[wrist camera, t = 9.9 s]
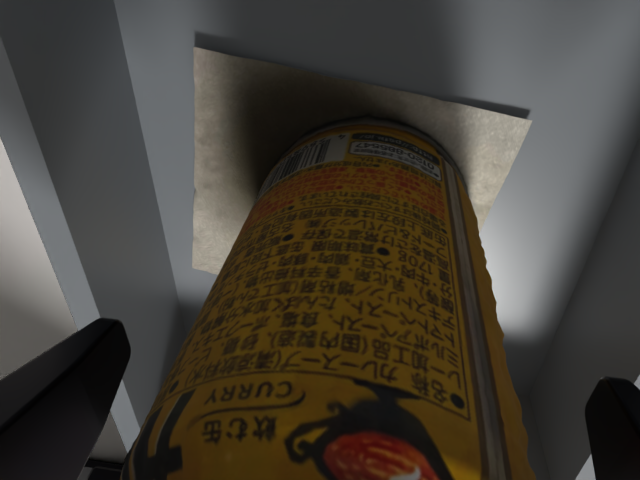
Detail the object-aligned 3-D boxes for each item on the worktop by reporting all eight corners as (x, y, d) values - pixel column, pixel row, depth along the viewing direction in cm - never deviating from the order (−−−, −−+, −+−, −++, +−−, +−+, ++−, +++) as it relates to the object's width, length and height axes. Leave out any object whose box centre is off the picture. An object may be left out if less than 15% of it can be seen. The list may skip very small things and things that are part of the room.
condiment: (437, 320, 16) (490, 961, 6) (193, 264, 16) (-124, 808, 6) (531, 116, 12) (1151, 1140, 2) (198, 43, 12) (-737, 669, 2)
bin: (539, 389, 19) (577, 524, 15) (183, 346, 20) (128, 456, 16) (788, -176, 9) (1107, -244, 5) (67, -173, 11) (-144, -221, 6)
